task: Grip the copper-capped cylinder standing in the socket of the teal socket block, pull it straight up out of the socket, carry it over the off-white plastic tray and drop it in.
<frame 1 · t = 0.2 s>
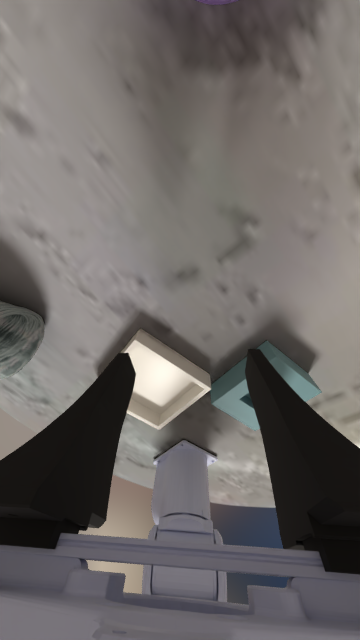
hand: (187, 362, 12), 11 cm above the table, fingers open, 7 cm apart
tray: (152, 377, 27), on the table
teal socket block: (257, 380, 26), on the table
grey green streaked cylinder: (0, 313, 24), on the table
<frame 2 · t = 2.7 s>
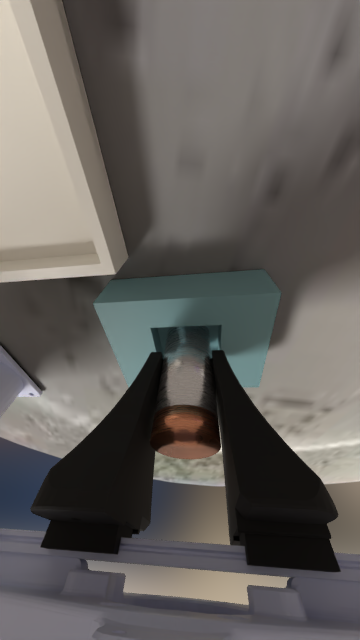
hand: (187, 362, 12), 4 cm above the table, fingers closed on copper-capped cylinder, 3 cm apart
teal socket block: (188, 323, 15), on the table
copper-capped cylinder: (188, 336, 14), point 2 cm above the table, touching gripper, teal socket block
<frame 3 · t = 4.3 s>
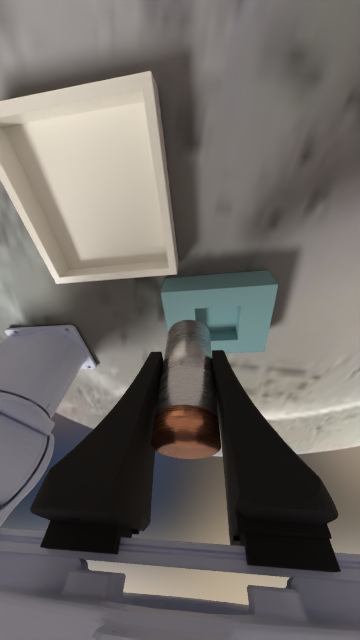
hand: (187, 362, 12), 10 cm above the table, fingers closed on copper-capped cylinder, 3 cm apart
tray: (103, 203, 16), on the table
teal socket block: (214, 308, 21), on the table
copper-capped cylinder: (188, 336, 14), point 8 cm above the table, touching gripper
when the fingers open (5 cm above the table, at t = 5.8 s): copper-capped cylinder drops 2 cm, resting on tray.
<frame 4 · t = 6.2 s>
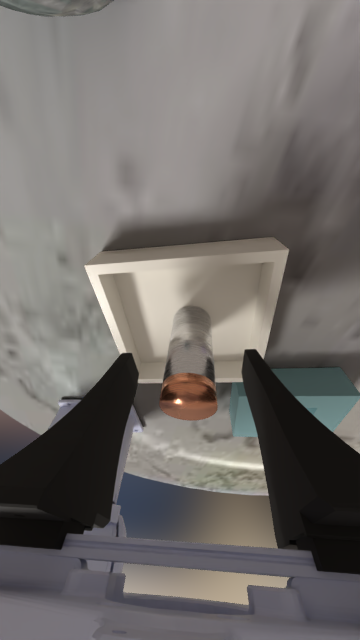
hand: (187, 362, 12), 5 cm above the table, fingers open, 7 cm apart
tray: (189, 314, 16), on the table
teal socket block: (277, 391, 22), on the table
copper-capped cylinder: (191, 321, 16), point 1 cm above the table, touching tray
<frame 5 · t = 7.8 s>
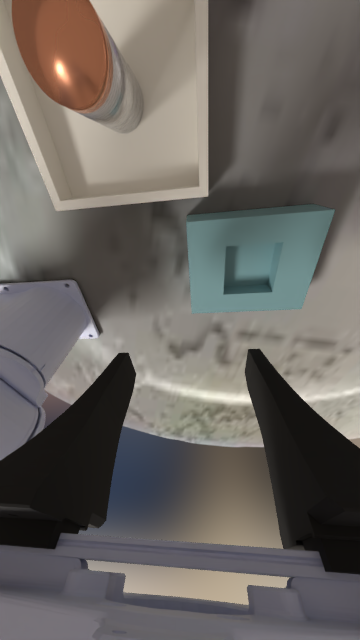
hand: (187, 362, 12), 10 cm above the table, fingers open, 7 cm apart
tray: (118, 99, 13), on the table
teal socket block: (243, 258, 18), on the table
copper-capped cylinder: (119, 100, 12), point 1 cm above the table, touching tray
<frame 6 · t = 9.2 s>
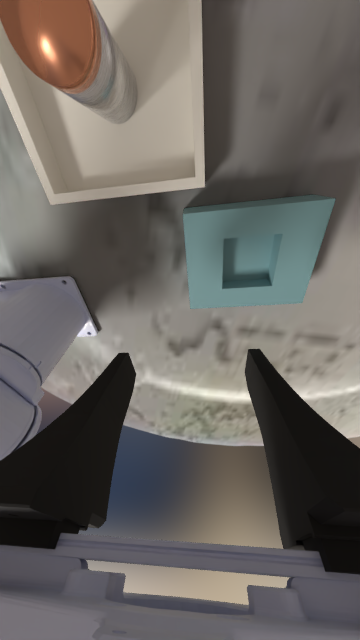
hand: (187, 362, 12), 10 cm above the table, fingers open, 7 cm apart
tray: (112, 88, 12), on the table
teal socket block: (242, 251, 18), on the table
copper-capped cylinder: (113, 89, 12), point 1 cm above the table, touching tray
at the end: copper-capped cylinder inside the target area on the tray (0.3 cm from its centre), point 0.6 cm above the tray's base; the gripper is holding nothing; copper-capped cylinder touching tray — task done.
